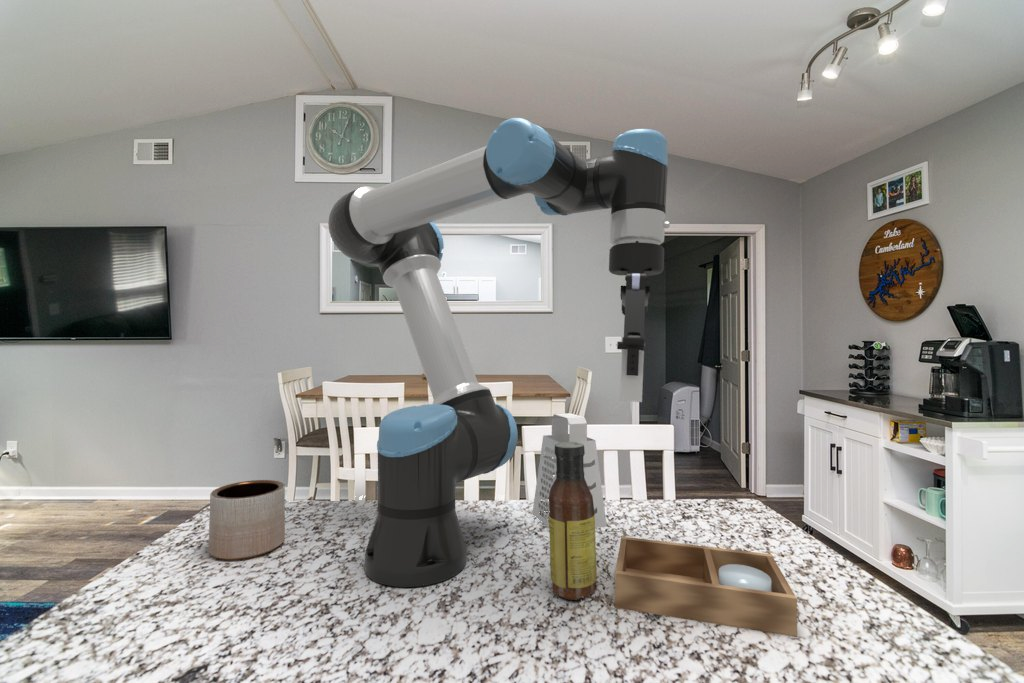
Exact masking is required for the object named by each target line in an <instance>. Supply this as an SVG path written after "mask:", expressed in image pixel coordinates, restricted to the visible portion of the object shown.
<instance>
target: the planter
mask: <svg viewBox="0 0 1024 683" xmlns="http://www.w3.org/2000/svg"><path fill="white" fill-rule="evenodd" d="M285 495H286V485H285V483H284V482H282V481H279V480H275V479H274V480H273V479H253V480H252V479H251V480H245V481H239V482H234V483H233V482H232V483H230V484H229V483H228V484H226V485H223V486H220V487H217V488H215V489H214V490H212V491H211V492H210V494H209V521H208V522H209V530H208V552H209V555H210V556H212V557H214V558H216V559H218V560H222V561H224V560H225V561H239V560H240V561H241V560H246V559H247V560H249V559H253V558H257V557H260V556H263V555H266V554H268V553H270V552H272V551H274V550H275V549H277V548H278V547H279V546H281V545H282V544H283V542H284V541H285V537H286V519H285V518H286V513H285V512H286V507H285V506H286V505H285V504H286V503H285V500H286V499H285V498H286V496H285Z"/></svg>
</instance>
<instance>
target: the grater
mask: <svg viewBox="0 0 1024 683" xmlns="http://www.w3.org/2000/svg"><path fill="white" fill-rule="evenodd" d="M552 415H553V416H551V434H548V435H547V434H546V435H545V434H544V435H543V436H542V442H541V450H540V455H539V464H538V469H537V477H536V478H537V480H536V485H535V490H534V491H535V492H534V499H533V507H532V512H531V515H532V514H533V515H534V516H533V515H532V516H533V517H535V516H536V517H537V518H538V519H539V520H540V521H539V520H538V519H537V518H536V517H535V518H536V519H537V520H538V521H539V522H541V521H542V522H543V523H544V524H545V527H547V528H548V529H549V520H548V518H549V493H550V489H551V487H552V485H553V483H554V481H555V480H556V471H557V467H556V455H555V444H557V443H561V442H578V443H582V444H584V451H585V454H584V456H583V464H584V478H585V481H586V483H587V485H588V488H589V490H590V492H591V494H592V497H593V505H594V513H595V529H598V528H605V527H608V524H607V518H606V509H605V501H604V495H603V488H602V481H601V472H600V464H599V458H598V457H599V456H598V450H597V443H596V442H597V441H596V439H594V438H591V437H588V422H587V420H586V418H585V416H582V415H578V414H575V413H571V412H568V413H553V414H552ZM544 455H545V456H544ZM544 511H545V512H544ZM546 511H548V512H547V513H546ZM539 512H541V513H539ZM545 516H546V518H545ZM542 522H541V523H542ZM543 523H542V524H543ZM544 524H543V525H544Z"/></svg>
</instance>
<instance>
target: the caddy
mask: <svg viewBox="0 0 1024 683" xmlns="http://www.w3.org/2000/svg"><path fill="white" fill-rule="evenodd" d="M728 564H738V565H745V566H749V567H753V568H756V569H758V570H761V571H763V572H764V573H766V574H767V575H768V576H769V577H770V578H771V592H768V591H761V590H753V589H746V588H739V587H732V586H725V585H720V584H719V568H720V567H722V566H724V565H728ZM778 565H779V564H777V561H776V560H775V558H774V556H773V554H771V553H764V552H754V551H747V550H746V551H745V550H738V549H730V548H721V547H713V546H705V545H696V544H688V543H680V542H678V543H677V542H672V541H671V542H670V541H663V540H662V541H661V540H653V539H645V538H637V537H629V536H621V537H620V543H619V549H618V555H617V560H616V566H615V573H614V574H615V576H614V578H615V579H614V584H615V585H614V591H615V592H614V608H615V609H619V610H620V609H621V610H625V611H634V612H640V613H646V614H650V615H651V614H652V615H658V616H664V617H671V618H677V619H683V620H689V621H695V622H701V623H706V624H715V625H720V626H727V627H731V628H732V627H733V628H739V629H746V630H749V631H750V630H752V631H756V632H757V631H758V632H764V633H768V634H769V633H771V634H776V635H780V636H789V637H795V638H797V637H798V598H797V596H796V595H795V592H794V591H793V590H792V588H791V586H790V585H789V583H788V581H787V579H786V578H785V576H784V574H783V572H782V570H781V569H780V567H779V566H778Z"/></svg>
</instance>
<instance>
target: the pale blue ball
mask: <svg viewBox="0 0 1024 683" xmlns="http://www.w3.org/2000/svg"><path fill="white" fill-rule="evenodd" d="M719 584H720V585H725V586H732V587H739V588H746V589H753V590H761V591H768V592H771V578H770V577H769V576H768V575H767V574H766V573H764V572H763V571H761V570H758V569H756V568H753V567H749V566H745V565H738V564H728V565H724V566H722V567H720V568H719Z"/></svg>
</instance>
